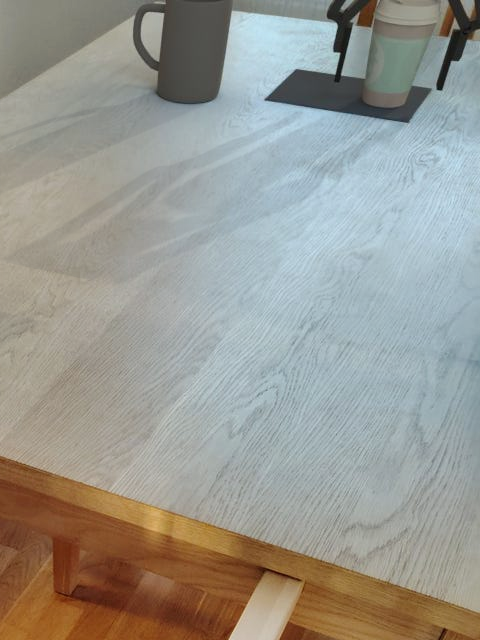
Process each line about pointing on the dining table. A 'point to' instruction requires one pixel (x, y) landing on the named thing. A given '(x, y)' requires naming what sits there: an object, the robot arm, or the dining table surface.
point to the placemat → (341, 95)
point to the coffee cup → (397, 49)
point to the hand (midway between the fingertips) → (387, 83)
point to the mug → (188, 47)
